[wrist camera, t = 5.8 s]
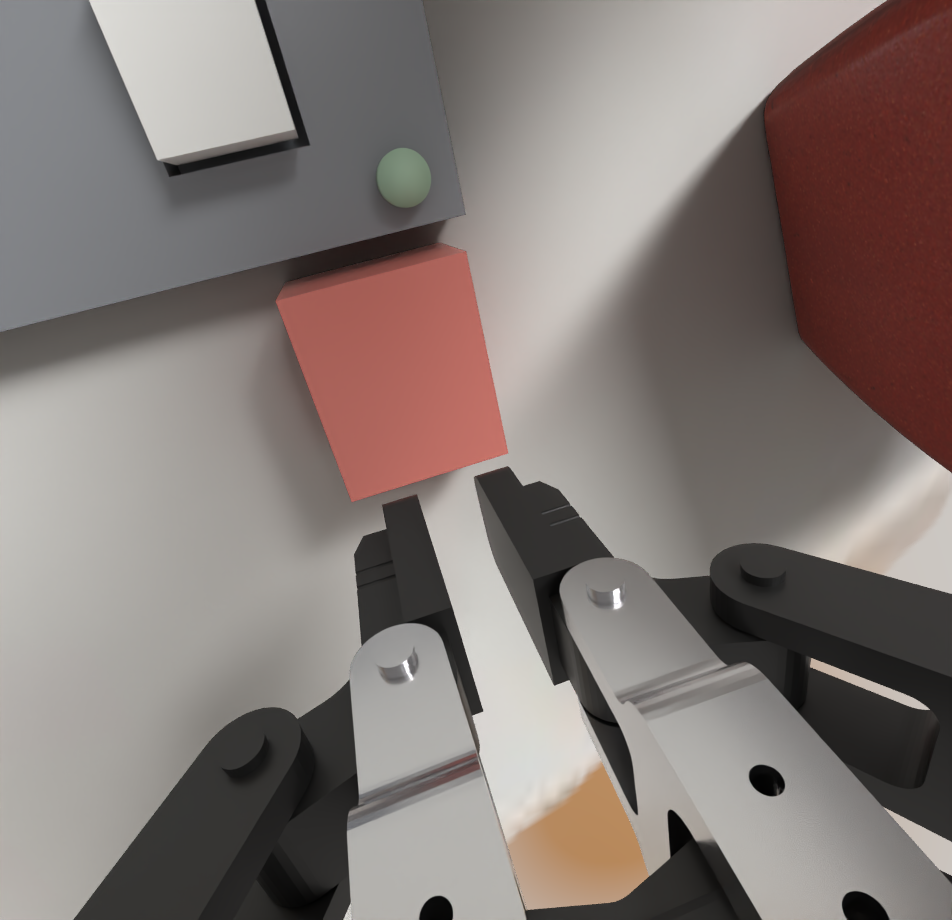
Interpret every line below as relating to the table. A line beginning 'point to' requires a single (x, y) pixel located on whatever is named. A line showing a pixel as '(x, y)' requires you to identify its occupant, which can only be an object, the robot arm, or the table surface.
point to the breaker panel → (214, 179)
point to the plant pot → (874, 211)
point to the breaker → (197, 75)
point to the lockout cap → (396, 366)
